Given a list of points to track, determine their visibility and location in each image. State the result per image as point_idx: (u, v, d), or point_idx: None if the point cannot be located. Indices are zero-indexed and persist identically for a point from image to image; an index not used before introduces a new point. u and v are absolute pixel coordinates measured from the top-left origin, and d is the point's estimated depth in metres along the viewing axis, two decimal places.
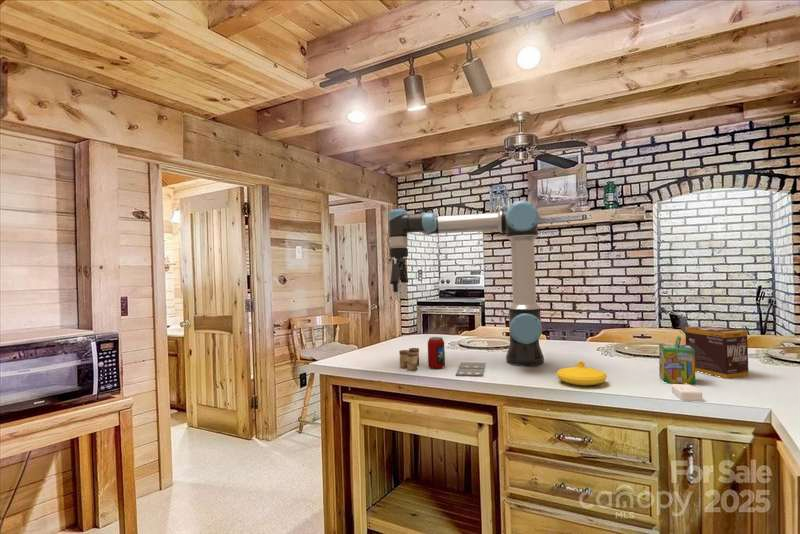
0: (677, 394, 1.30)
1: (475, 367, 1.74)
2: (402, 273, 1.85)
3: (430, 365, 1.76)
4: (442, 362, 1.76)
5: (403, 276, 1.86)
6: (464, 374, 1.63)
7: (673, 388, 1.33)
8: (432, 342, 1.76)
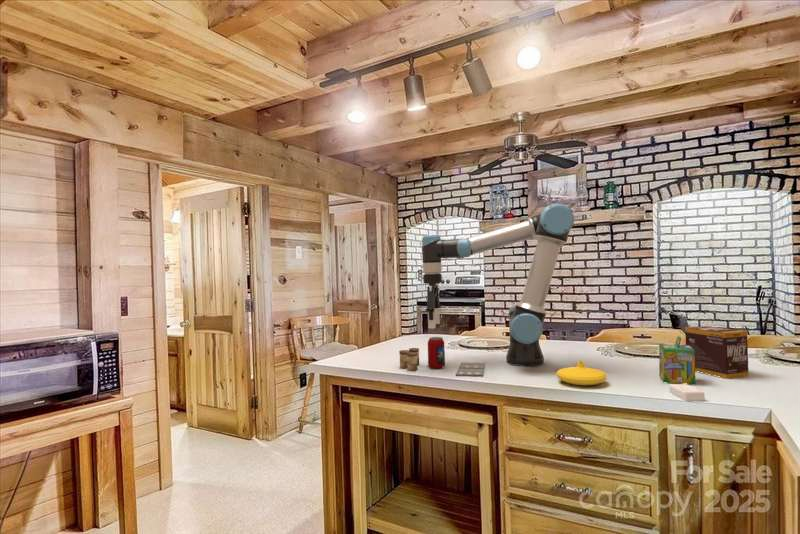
0: (679, 395, 1.29)
1: (475, 367, 1.74)
2: (435, 299, 1.82)
3: (430, 365, 1.76)
4: (442, 362, 1.76)
5: (436, 302, 1.83)
6: (464, 374, 1.63)
7: (672, 388, 1.32)
8: (433, 342, 1.76)
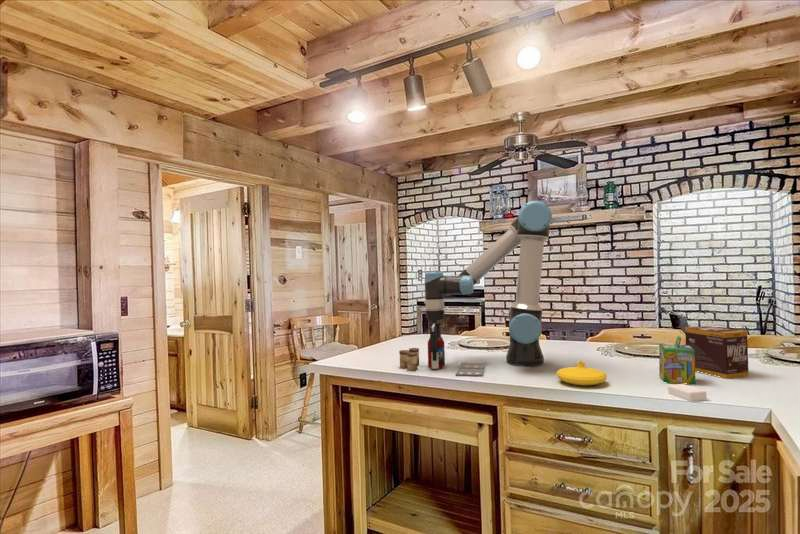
0: (681, 395, 1.28)
1: (475, 367, 1.74)
2: (437, 337, 1.81)
3: (430, 365, 1.76)
4: (442, 362, 1.76)
5: None
6: (464, 374, 1.63)
7: (672, 389, 1.32)
8: None
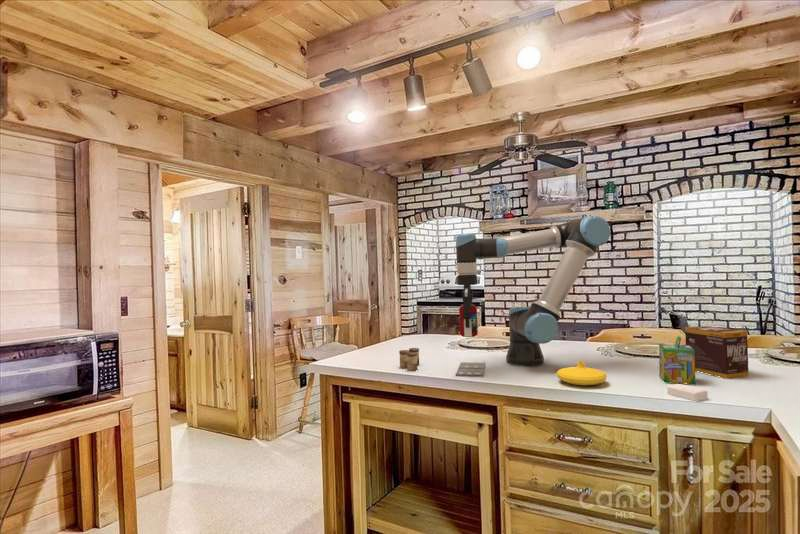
0: (684, 396, 1.28)
1: (475, 367, 1.74)
2: None
3: (462, 333, 1.65)
4: (475, 330, 1.65)
5: None
6: (464, 374, 1.63)
7: (673, 390, 1.31)
8: None
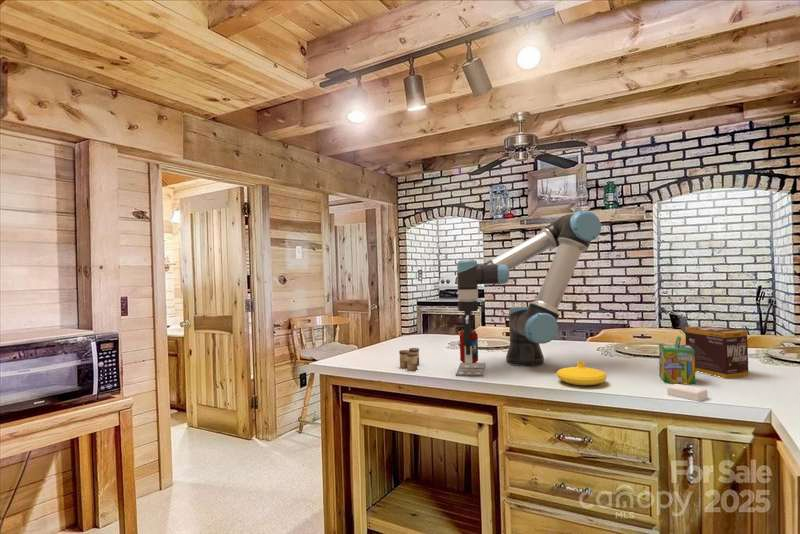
0: (686, 396, 1.28)
1: (475, 367, 1.74)
2: None
3: (463, 359, 1.65)
4: (475, 356, 1.65)
5: None
6: (464, 374, 1.63)
7: (674, 390, 1.31)
8: None
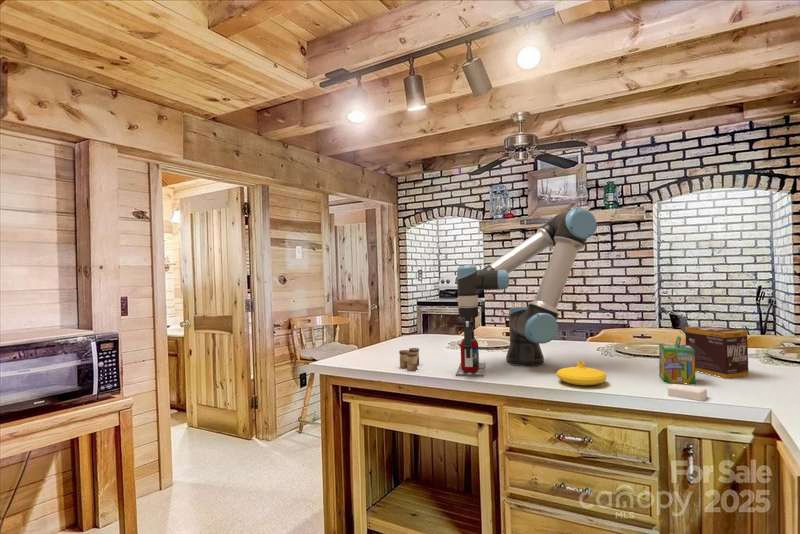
0: (689, 396, 1.27)
1: None
2: None
3: (463, 368, 1.65)
4: (476, 365, 1.65)
5: (471, 336, 1.72)
6: (464, 374, 1.63)
7: (675, 391, 1.30)
8: None
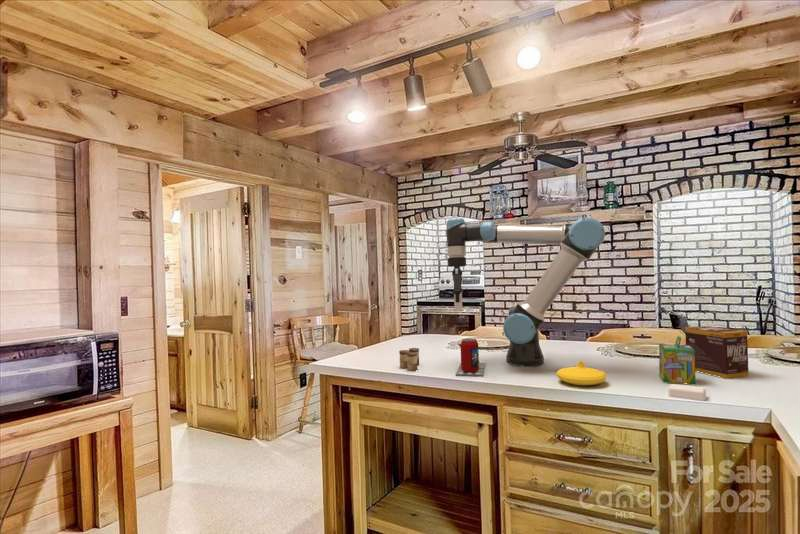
0: (690, 396, 1.27)
1: None
2: None
3: (463, 368, 1.65)
4: (476, 365, 1.65)
5: None
6: (464, 374, 1.63)
7: (676, 391, 1.29)
8: (466, 343, 1.65)
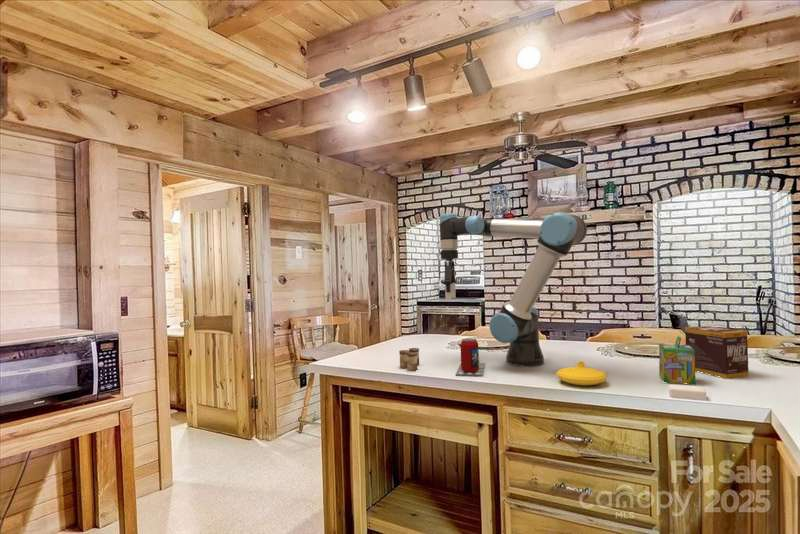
0: (693, 396, 1.27)
1: None
2: (451, 274, 1.94)
3: (463, 368, 1.65)
4: (476, 365, 1.65)
5: (452, 277, 1.95)
6: (464, 374, 1.63)
7: (678, 392, 1.29)
8: (466, 343, 1.65)
